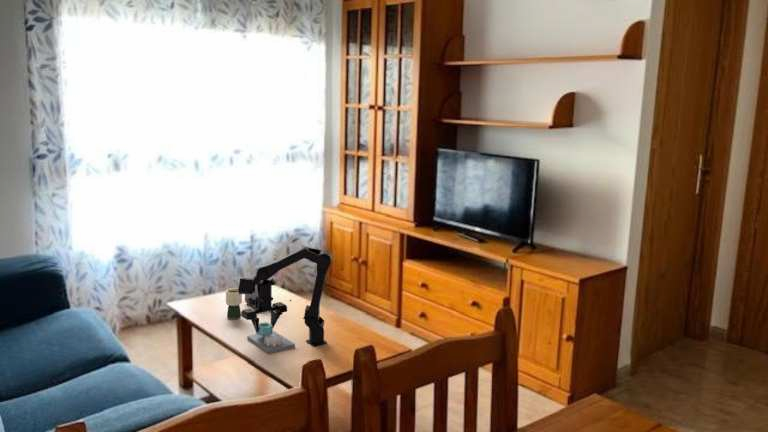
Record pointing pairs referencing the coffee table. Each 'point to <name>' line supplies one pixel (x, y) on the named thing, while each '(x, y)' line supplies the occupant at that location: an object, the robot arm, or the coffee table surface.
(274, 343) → the gear board
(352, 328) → the coffee table surface
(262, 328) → the teal gear
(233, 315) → the character mug
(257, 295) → the decorative rock
